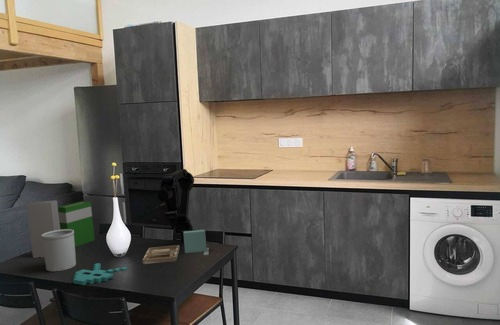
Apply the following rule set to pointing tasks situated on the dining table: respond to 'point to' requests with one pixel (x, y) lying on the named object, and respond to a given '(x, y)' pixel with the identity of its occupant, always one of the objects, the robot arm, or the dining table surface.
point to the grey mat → (206, 252)
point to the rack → (173, 250)
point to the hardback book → (77, 221)
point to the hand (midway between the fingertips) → (173, 227)
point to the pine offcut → (161, 252)
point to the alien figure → (94, 275)
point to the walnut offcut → (158, 256)
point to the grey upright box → (41, 223)
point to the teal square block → (195, 241)
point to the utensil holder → (59, 249)
